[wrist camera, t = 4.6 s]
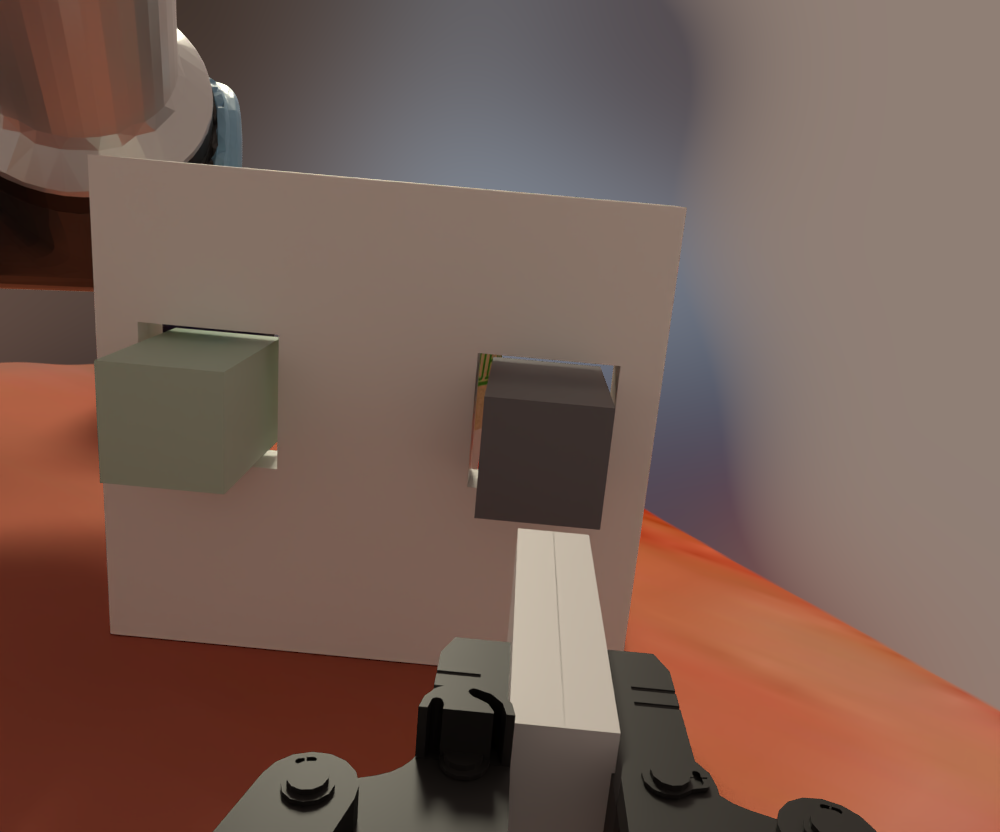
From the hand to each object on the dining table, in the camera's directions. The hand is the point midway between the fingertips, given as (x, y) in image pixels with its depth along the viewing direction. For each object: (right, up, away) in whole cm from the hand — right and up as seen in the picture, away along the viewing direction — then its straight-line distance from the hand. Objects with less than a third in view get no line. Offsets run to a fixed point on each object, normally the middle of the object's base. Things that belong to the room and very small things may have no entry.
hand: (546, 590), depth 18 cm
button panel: (-6, -5, +18) cm, 19 cm away
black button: (0, +1, +12) cm, 12 cm away
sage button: (-12, +2, +12) cm, 17 cm away
